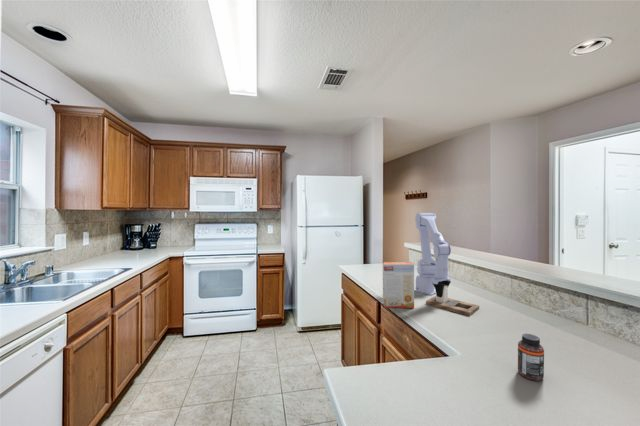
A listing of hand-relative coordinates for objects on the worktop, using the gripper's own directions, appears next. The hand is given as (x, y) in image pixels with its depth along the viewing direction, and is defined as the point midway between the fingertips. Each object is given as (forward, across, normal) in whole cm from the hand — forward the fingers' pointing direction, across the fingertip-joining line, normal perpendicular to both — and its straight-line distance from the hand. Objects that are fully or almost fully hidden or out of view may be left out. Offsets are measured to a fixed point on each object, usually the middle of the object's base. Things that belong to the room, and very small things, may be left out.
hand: (441, 295), depth 135 cm
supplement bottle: (+4, -38, -42) cm, 57 cm away
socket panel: (+4, 0, -5) cm, 6 cm away
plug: (+3, 0, 0) cm, 3 cm away
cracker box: (+4, -18, +13) cm, 23 cm away
